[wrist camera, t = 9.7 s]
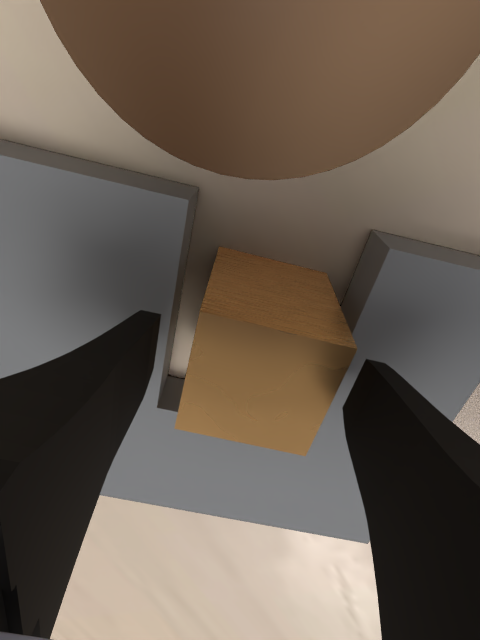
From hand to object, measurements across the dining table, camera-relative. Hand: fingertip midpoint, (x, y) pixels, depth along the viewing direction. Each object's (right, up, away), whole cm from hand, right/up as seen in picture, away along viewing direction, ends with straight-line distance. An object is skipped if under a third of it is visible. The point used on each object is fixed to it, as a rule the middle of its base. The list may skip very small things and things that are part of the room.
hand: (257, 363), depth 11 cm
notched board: (-1, -1, +4) cm, 5 cm away
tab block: (0, +2, +3) cm, 4 cm away
